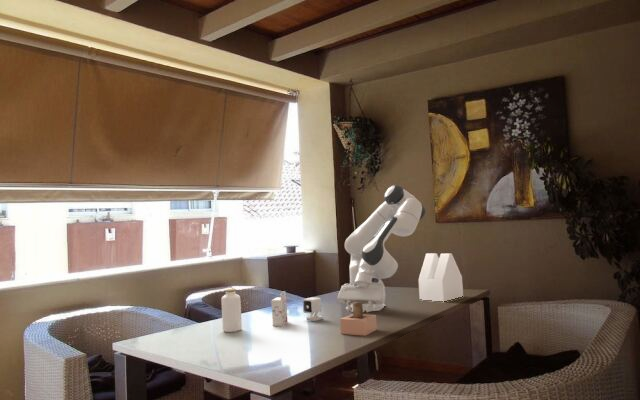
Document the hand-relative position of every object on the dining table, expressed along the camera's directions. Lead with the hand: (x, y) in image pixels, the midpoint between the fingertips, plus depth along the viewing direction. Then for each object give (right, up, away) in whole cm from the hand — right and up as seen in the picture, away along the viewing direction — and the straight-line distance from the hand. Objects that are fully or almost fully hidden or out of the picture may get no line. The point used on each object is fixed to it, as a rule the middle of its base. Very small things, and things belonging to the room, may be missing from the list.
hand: (357, 311), depth 201 cm
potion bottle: (-54, -12, +16) cm, 58 cm away
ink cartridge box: (-34, -12, +24) cm, 43 cm away
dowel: (+1, -8, 0) cm, 8 cm away
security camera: (-18, -11, +30) cm, 37 cm away
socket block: (+1, -8, 0) cm, 8 cm away
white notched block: (+52, -9, +70) cm, 87 cm away
